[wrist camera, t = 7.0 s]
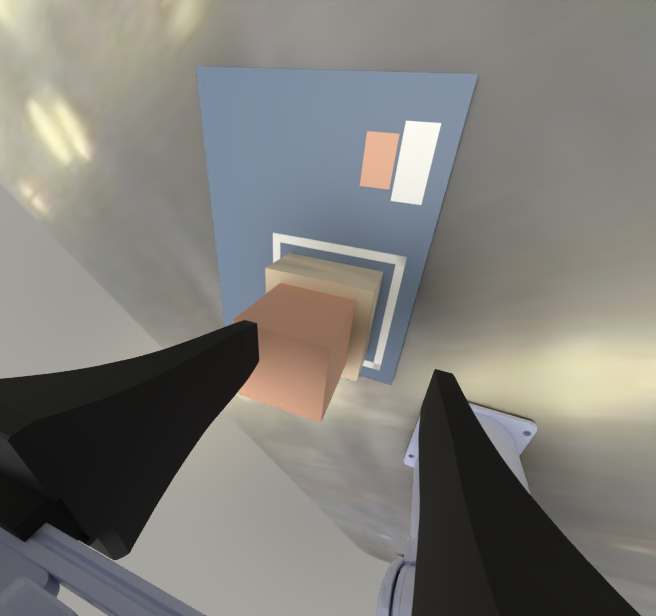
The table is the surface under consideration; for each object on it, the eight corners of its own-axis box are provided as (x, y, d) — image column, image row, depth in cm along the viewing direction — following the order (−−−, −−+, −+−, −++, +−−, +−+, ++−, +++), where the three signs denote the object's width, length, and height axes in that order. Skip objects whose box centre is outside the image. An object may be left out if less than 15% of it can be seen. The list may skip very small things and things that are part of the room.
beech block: (366, 353, 22) (357, 381, 19) (287, 331, 24) (267, 354, 21) (383, 271, 19) (374, 291, 16) (289, 252, 20) (265, 267, 17)
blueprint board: (392, 378, 23) (391, 385, 22) (230, 331, 27) (225, 336, 26) (475, 78, 14) (478, 73, 13) (204, 70, 17) (194, 66, 17)
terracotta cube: (345, 365, 19) (320, 423, 14) (279, 345, 20) (238, 394, 16) (356, 300, 16) (330, 347, 12) (279, 282, 17) (232, 320, 13)
